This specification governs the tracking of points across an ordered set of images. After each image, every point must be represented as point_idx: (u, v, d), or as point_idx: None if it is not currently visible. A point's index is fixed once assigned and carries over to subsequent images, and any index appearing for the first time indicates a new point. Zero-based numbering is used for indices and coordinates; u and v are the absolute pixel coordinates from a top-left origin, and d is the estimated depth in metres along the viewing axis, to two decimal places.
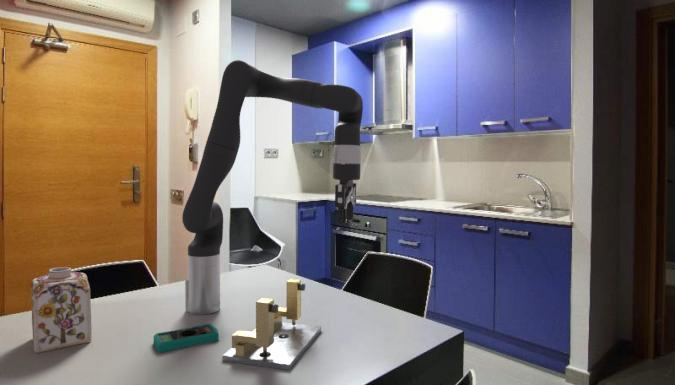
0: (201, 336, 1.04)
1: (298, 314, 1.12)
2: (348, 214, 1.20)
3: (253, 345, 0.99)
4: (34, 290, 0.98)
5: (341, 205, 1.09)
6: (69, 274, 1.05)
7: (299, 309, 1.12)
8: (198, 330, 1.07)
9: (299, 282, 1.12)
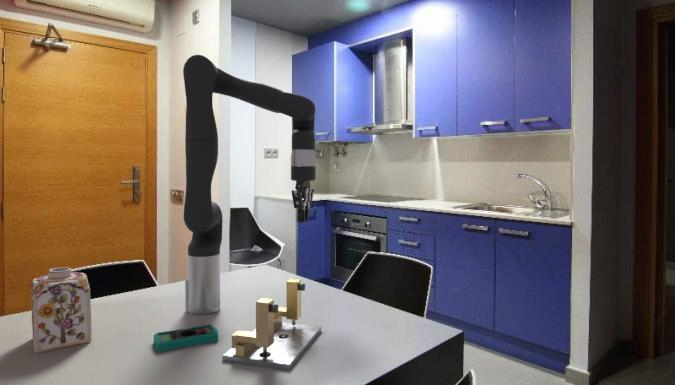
0: (200, 337, 1.04)
1: (298, 314, 1.12)
2: None
3: (253, 345, 0.99)
4: (34, 290, 0.98)
5: (299, 206, 1.25)
6: (69, 274, 1.05)
7: (299, 309, 1.12)
8: (198, 330, 1.07)
9: (299, 282, 1.12)
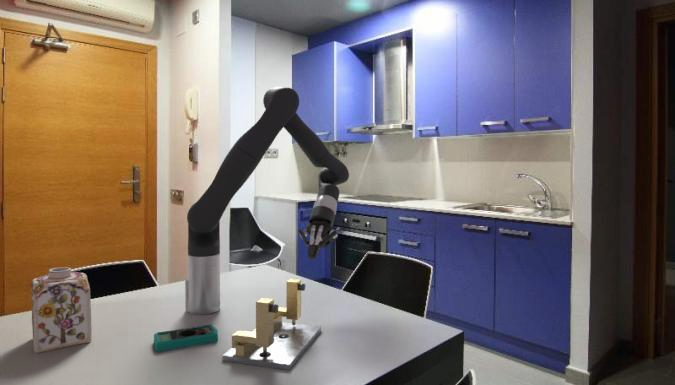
0: (200, 337, 1.03)
1: (298, 314, 1.12)
2: None
3: (253, 345, 0.99)
4: (34, 290, 0.98)
5: (325, 245, 1.28)
6: (69, 274, 1.05)
7: (299, 309, 1.12)
8: (198, 330, 1.07)
9: (299, 282, 1.12)
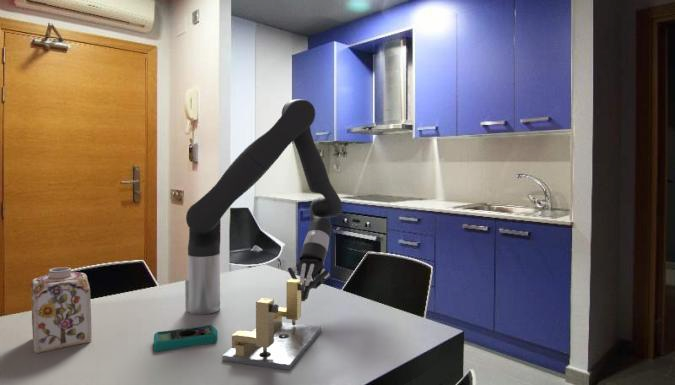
0: (199, 337, 1.03)
1: (298, 314, 1.12)
2: None
3: (253, 345, 0.99)
4: (34, 290, 0.98)
5: (316, 286, 1.21)
6: (69, 274, 1.05)
7: (299, 309, 1.12)
8: (198, 331, 1.07)
9: (299, 282, 1.12)
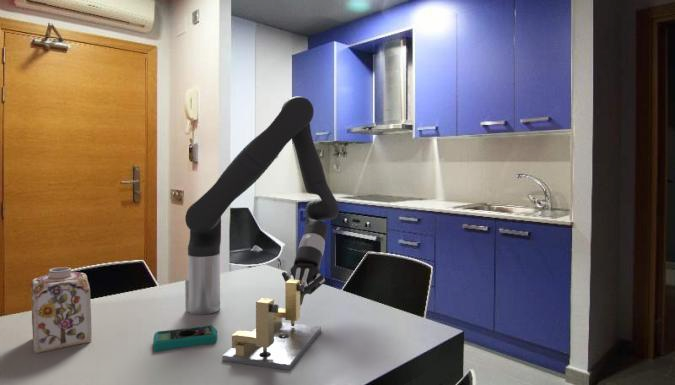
0: (198, 338, 1.03)
1: (297, 315, 1.11)
2: None
3: (253, 345, 0.99)
4: (34, 290, 0.98)
5: (311, 291, 1.17)
6: (69, 274, 1.05)
7: (298, 310, 1.12)
8: (198, 331, 1.07)
9: (298, 283, 1.11)
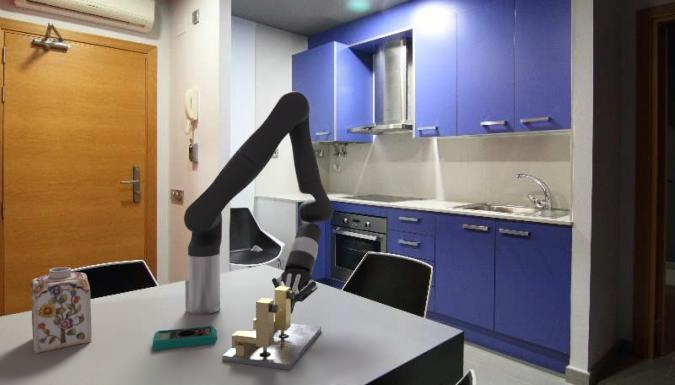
0: (196, 338, 1.03)
1: (287, 324, 1.04)
2: None
3: (253, 345, 0.99)
4: (34, 290, 0.98)
5: (302, 298, 1.10)
6: (69, 274, 1.05)
7: (288, 319, 1.05)
8: (197, 331, 1.06)
9: (288, 290, 1.04)
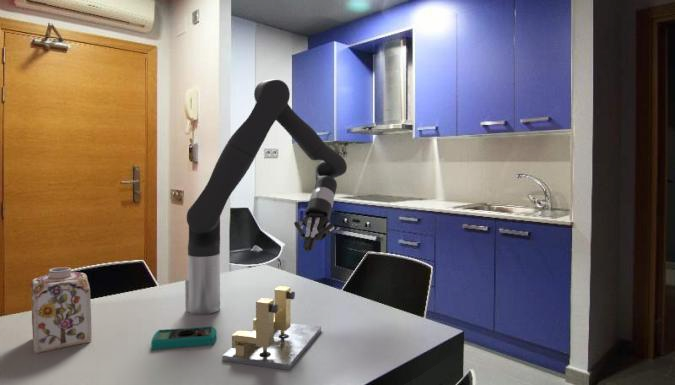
0: (195, 339, 1.02)
1: (287, 324, 1.04)
2: None
3: (253, 345, 0.99)
4: (34, 290, 0.98)
5: (321, 238, 1.25)
6: (69, 274, 1.05)
7: (288, 319, 1.05)
8: (197, 331, 1.06)
9: (288, 290, 1.04)
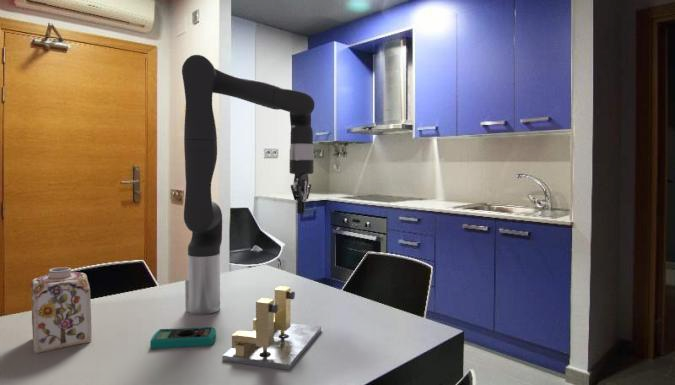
0: (193, 339, 1.02)
1: (287, 324, 1.04)
2: None
3: (253, 345, 0.99)
4: (34, 290, 0.98)
5: (299, 198, 1.31)
6: (69, 274, 1.05)
7: (288, 319, 1.05)
8: (197, 332, 1.06)
9: (288, 290, 1.04)
